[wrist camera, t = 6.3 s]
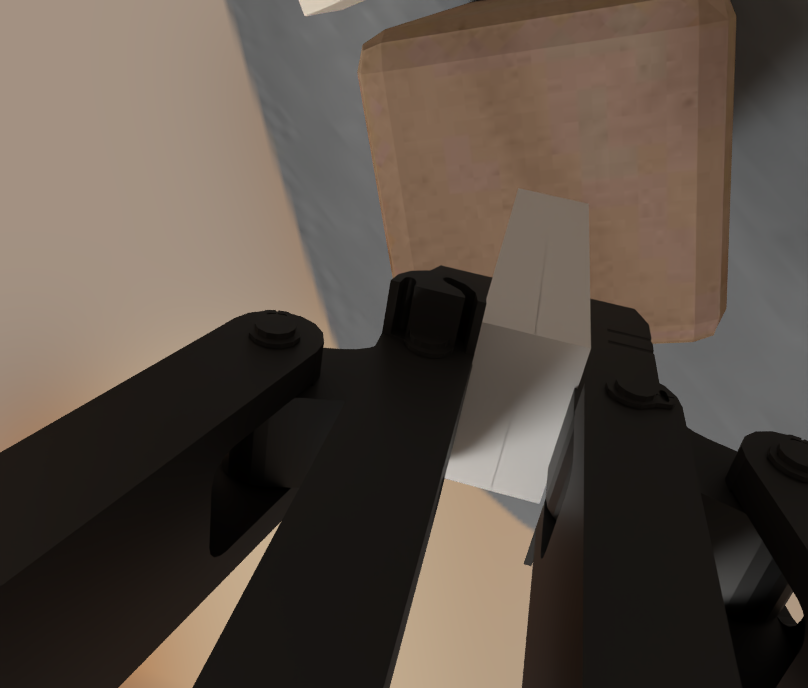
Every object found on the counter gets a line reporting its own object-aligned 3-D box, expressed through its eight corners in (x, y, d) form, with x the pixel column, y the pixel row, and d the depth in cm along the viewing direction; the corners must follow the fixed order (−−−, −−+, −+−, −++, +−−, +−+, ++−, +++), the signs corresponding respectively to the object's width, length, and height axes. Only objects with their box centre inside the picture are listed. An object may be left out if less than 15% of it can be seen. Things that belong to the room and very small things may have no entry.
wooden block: (476, 198, 41) (399, 366, 24) (454, 4, 37) (340, 38, 20) (664, 179, 39) (731, 353, 21) (663, -31, 34) (745, -28, 17)
